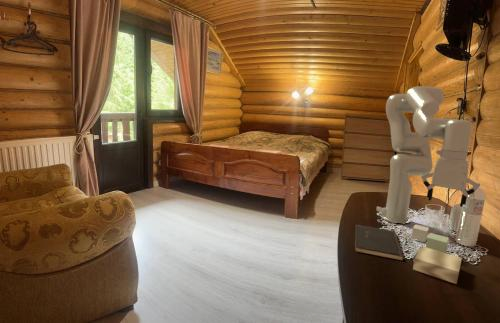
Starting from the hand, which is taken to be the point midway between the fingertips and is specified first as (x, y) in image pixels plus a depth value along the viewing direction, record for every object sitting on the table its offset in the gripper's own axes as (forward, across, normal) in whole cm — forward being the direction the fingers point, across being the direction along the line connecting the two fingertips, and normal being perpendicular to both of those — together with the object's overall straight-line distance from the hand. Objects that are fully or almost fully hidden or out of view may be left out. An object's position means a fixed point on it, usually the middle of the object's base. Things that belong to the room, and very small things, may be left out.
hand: (445, 202), depth 109 cm
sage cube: (+20, 0, 0) cm, 20 cm away
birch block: (+20, +2, -14) cm, 24 cm away
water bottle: (+19, +8, +18) cm, 28 cm away
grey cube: (+19, -7, +9) cm, 23 cm away
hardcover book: (+20, -19, -7) cm, 29 cm away
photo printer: (+19, +5, +34) cm, 40 cm away
